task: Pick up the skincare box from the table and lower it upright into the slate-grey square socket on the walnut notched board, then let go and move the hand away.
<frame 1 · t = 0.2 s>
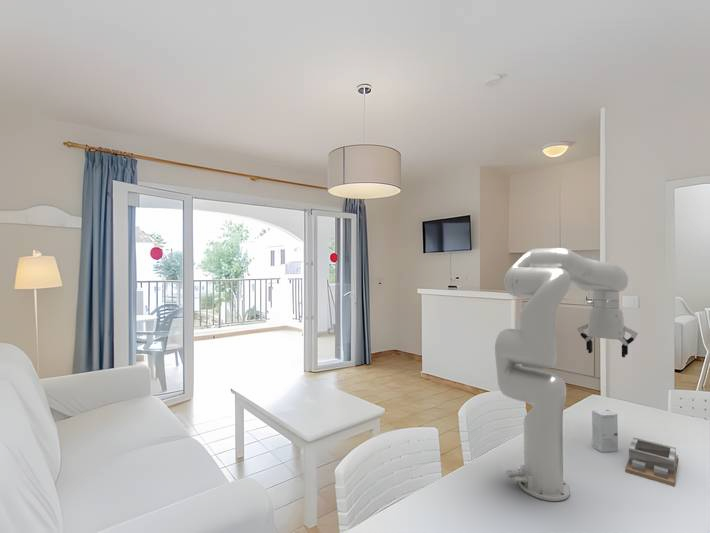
hand: (606, 354, 130), 30 cm above the table, tool pointing down, fingers open, 9 cm apart
skincare box: (605, 449, 124), on the table
socket board: (652, 465, 114), on the table
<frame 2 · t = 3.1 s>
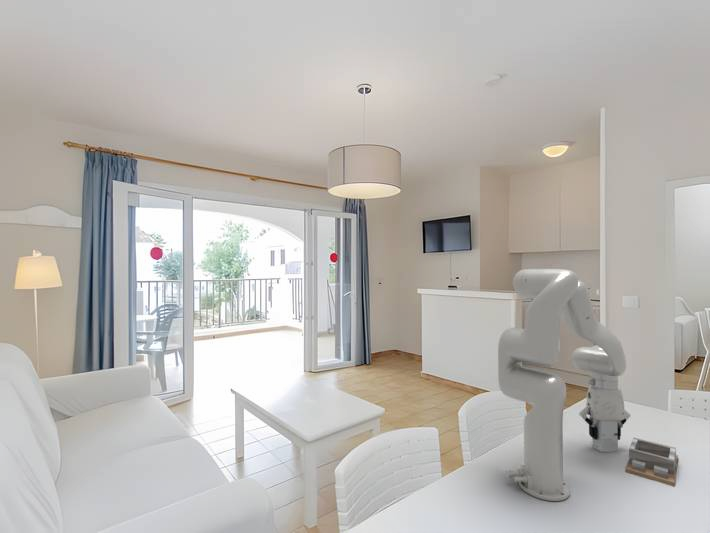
hand: (604, 437, 124), 4 cm above the table, tool pointing down, fingers closed on skincare box, 6 cm apart
skincare box: (605, 449, 124), on the table, touching gripper
when the fingers open (6 cm above the table, at t = 9.0 s): skincare box drops 1 cm, resting on socket board.
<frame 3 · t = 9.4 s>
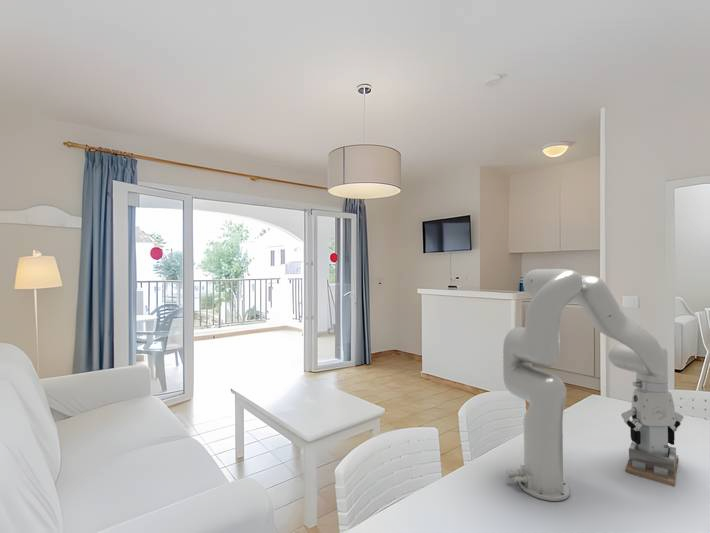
hand: (652, 442, 114), 7 cm above the table, tool pointing down, fingers open, 9 cm apart
skincare box: (653, 462, 114), point 1 cm above the table, touching socket board
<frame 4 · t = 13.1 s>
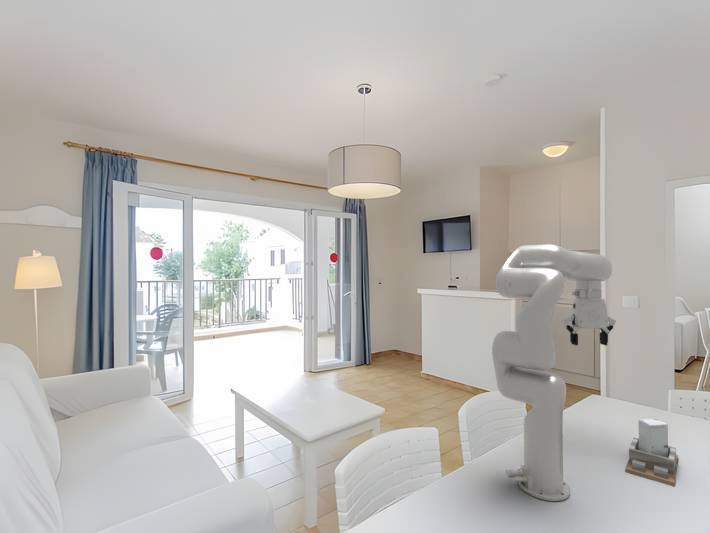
hand: (589, 344, 130), 33 cm above the table, tool pointing down, fingers open, 9 cm apart
nothing on the table moved.
at the end: skincare box 0.2 cm off-centre on the socket board, point 0.8 cm above the socket board's base; skincare box tilted 0°; the gripper is holding nothing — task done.
